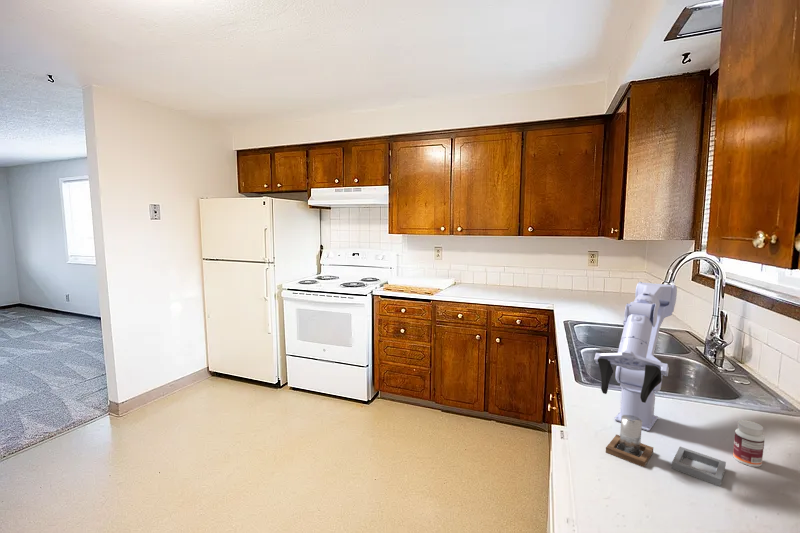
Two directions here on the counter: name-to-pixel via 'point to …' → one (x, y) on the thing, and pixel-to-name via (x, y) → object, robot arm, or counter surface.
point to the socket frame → (626, 456)
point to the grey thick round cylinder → (630, 434)
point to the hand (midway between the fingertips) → (622, 395)
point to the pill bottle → (749, 443)
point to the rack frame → (699, 473)
